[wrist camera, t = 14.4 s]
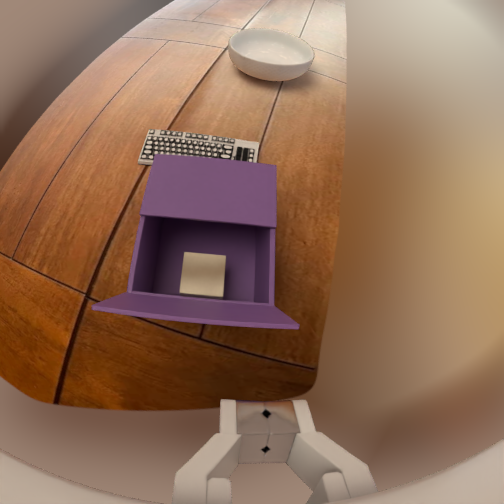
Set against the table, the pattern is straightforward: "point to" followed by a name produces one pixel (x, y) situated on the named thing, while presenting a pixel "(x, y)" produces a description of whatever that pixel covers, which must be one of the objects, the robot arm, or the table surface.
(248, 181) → the box
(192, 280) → the block
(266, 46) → the cereal bowl
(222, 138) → the keyboard
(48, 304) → the table surface
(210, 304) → the flap
